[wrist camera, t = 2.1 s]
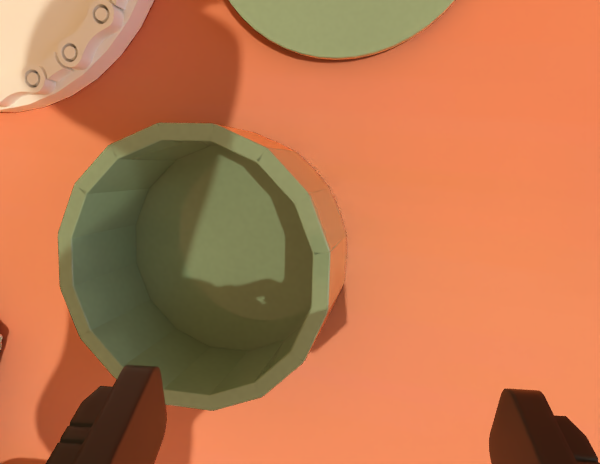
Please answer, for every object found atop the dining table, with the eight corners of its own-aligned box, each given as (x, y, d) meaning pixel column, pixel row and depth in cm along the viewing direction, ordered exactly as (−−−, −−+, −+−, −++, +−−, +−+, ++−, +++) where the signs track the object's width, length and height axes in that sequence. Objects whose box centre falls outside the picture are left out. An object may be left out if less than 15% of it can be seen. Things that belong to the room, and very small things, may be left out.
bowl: (127, 130, 30) (52, 121, 24) (352, 134, 27) (335, 124, 21) (131, 346, 32) (63, 391, 26) (342, 370, 29) (324, 427, 23)
